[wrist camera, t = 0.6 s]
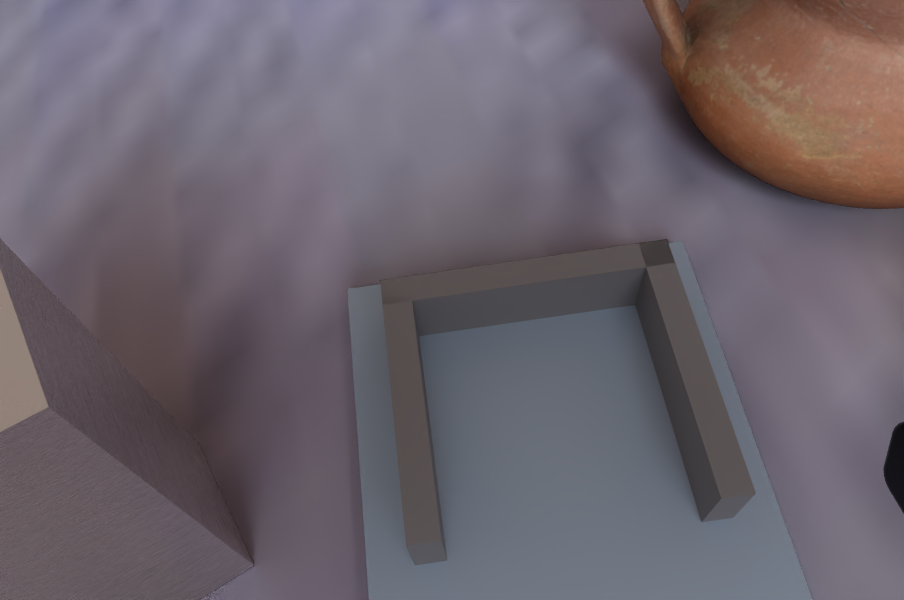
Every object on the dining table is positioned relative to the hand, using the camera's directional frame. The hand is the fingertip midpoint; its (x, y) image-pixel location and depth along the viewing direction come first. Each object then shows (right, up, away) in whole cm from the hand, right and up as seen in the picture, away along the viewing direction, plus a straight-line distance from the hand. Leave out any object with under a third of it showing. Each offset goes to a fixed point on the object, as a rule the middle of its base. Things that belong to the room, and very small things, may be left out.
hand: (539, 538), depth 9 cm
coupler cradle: (+2, -3, +17) cm, 17 cm away
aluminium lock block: (-11, -5, +16) cm, 20 cm away
